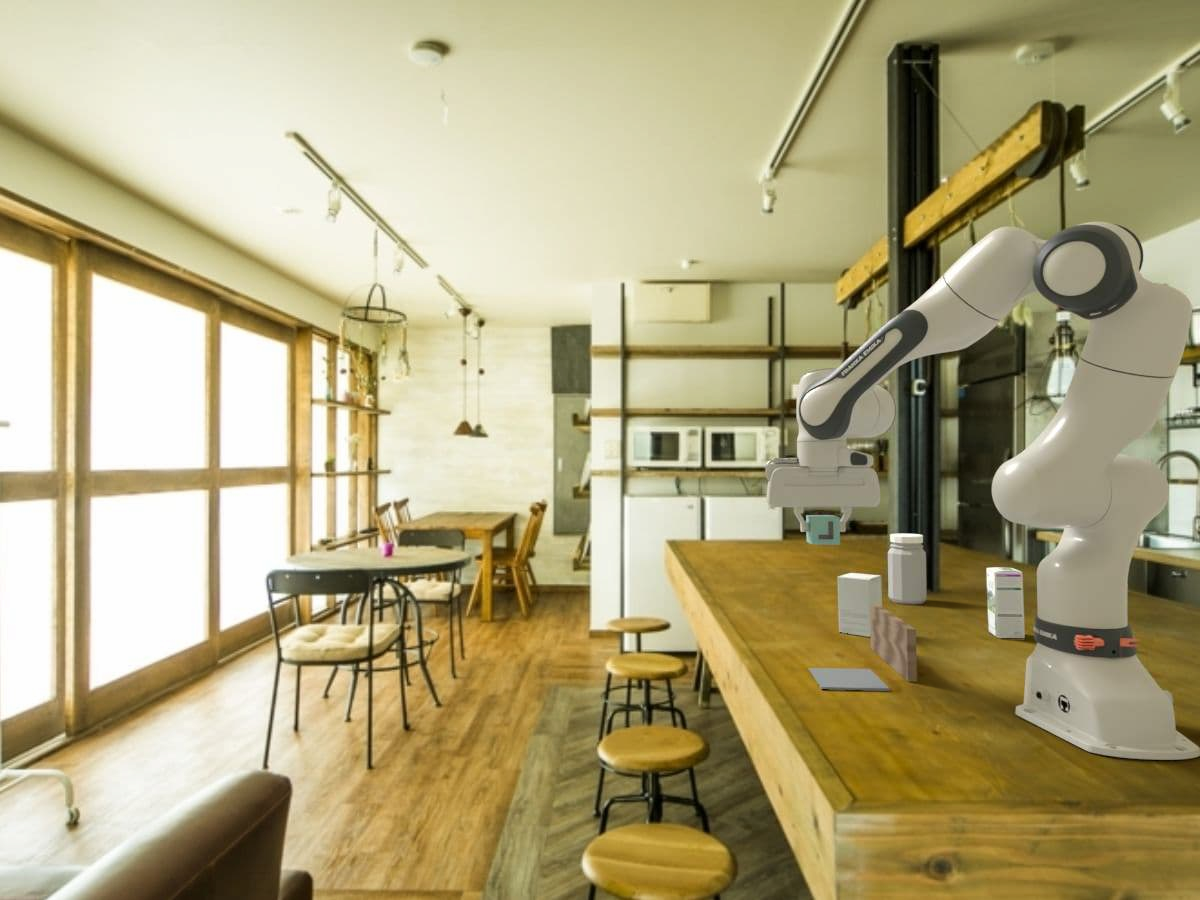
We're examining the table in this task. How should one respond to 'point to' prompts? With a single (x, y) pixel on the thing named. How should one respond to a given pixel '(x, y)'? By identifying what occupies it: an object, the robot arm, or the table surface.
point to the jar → (907, 569)
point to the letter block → (823, 530)
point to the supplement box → (857, 602)
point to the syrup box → (1005, 602)
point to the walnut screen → (894, 641)
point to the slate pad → (848, 679)
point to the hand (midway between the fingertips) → (822, 531)
